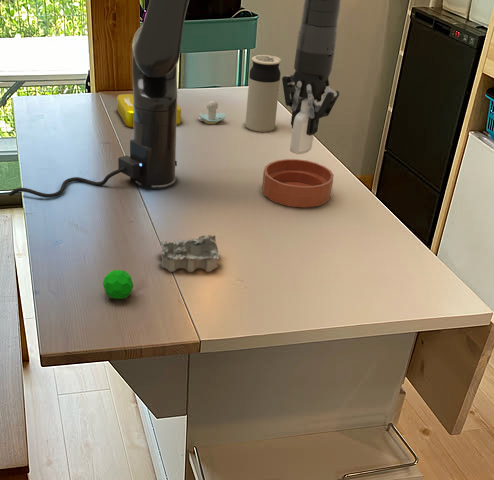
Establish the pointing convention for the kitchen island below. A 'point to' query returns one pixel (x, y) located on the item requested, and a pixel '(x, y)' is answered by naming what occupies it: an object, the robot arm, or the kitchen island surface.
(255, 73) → the travel mug
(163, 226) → the kitchen island surface
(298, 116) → the eye dropper bottle
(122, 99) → the element tile
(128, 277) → the polyhedron
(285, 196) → the bowl
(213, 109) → the pacifier
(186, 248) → the egg carton
